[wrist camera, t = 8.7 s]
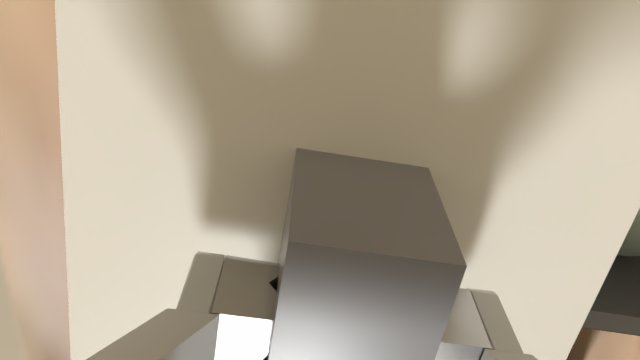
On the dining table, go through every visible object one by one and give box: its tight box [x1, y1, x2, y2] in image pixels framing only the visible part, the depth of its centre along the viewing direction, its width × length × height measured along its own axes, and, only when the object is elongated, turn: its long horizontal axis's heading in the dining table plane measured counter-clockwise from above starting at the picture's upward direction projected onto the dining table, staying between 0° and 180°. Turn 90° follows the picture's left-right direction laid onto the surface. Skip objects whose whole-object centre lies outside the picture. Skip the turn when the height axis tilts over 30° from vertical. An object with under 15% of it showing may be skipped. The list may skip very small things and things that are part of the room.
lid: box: [55, 0, 640, 360], centre depth 11 cm, size 11×13×5 cm
